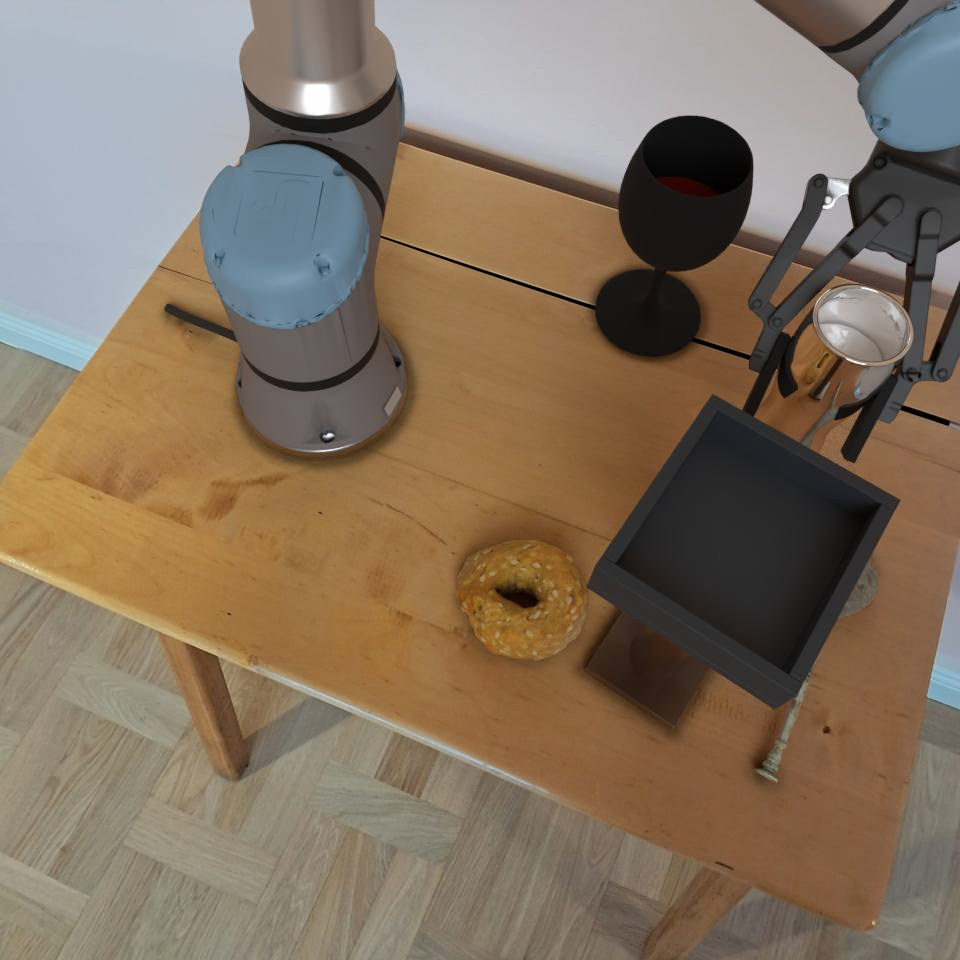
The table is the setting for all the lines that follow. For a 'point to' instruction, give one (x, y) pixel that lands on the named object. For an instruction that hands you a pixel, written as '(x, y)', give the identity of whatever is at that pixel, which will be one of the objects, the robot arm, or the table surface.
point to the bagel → (533, 573)
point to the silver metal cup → (836, 362)
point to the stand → (647, 670)
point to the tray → (745, 550)
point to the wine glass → (674, 229)
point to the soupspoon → (855, 602)
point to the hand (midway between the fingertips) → (796, 436)
